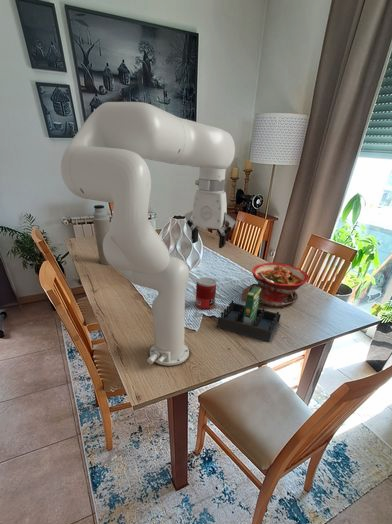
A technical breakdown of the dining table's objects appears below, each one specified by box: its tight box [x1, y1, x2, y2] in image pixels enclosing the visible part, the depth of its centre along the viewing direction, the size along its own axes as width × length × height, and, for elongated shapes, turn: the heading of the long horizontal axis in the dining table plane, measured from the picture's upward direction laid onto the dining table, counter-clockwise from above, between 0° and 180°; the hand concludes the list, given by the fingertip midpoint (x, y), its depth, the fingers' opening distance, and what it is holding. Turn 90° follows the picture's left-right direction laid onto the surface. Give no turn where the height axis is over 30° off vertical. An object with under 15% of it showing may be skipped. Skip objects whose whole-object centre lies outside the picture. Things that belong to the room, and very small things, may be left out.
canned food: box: [195, 276, 217, 311], centre depth 118 cm, size 8×8×11 cm
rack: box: [216, 299, 282, 343], centre depth 108 cm, size 20×14×6 cm
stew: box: [240, 262, 310, 309], centre depth 124 cm, size 28×24×16 cm
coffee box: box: [243, 286, 261, 325], centre depth 105 cm, size 8×3×13 cm, turn 151°
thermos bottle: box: [92, 204, 111, 265], centre depth 149 cm, size 8×8×28 cm
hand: (208, 244), depth 96 cm, fingers open, 9 cm apart
